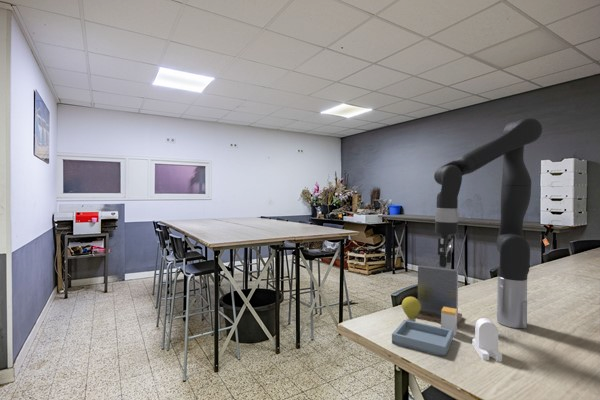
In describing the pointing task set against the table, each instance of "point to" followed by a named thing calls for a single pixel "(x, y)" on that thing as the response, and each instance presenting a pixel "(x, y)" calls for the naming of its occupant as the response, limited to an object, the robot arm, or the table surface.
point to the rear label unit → (437, 292)
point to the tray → (423, 337)
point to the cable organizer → (486, 339)
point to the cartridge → (449, 319)
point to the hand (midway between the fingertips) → (445, 264)
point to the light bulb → (411, 308)
